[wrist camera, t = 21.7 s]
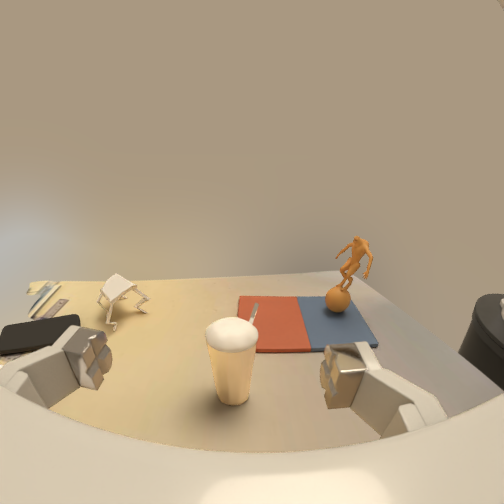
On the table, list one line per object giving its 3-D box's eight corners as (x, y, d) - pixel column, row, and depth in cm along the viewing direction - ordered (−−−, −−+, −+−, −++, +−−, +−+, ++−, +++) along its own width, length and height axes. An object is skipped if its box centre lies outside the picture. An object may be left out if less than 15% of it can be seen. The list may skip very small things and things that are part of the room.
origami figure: (159, 321, 38) (154, 292, 36) (106, 335, 33) (98, 305, 31) (138, 290, 47) (134, 265, 45) (95, 300, 42) (90, 274, 40)
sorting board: (348, 298, 46) (349, 295, 45) (377, 346, 32) (378, 343, 32) (239, 298, 46) (239, 295, 45) (234, 351, 32) (234, 348, 32)
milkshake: (269, 391, 26) (276, 312, 23) (231, 418, 22) (228, 338, 19) (240, 370, 29) (240, 294, 26) (202, 392, 25) (193, 313, 22)
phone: (79, 338, 30) (-6, 351, 22) (81, 343, 30) (-3, 356, 22) (78, 312, 36) (3, 325, 28) (80, 317, 36) (5, 329, 28)
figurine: (313, 300, 44) (321, 229, 40) (343, 295, 45) (353, 228, 42) (338, 326, 36) (352, 245, 33) (370, 319, 38) (386, 243, 34)
